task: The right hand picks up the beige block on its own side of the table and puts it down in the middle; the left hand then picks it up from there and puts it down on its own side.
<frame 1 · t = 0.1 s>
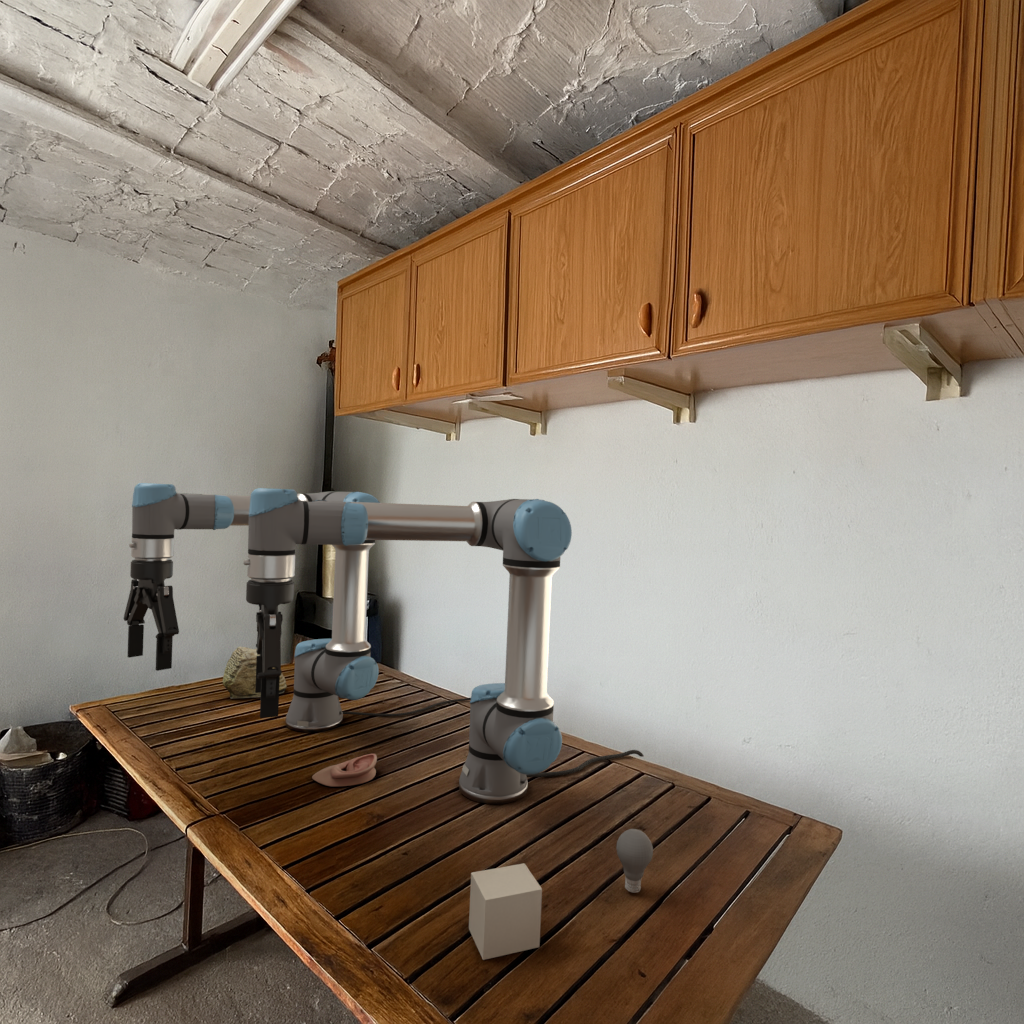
left hand: (148, 662, 129), 28 cm above the table, tool pointing down, fingers open, 13 cm apart
right hand: (266, 703, 108), 28 cm above the table, tool pointing down, fingers open, 13 cm apart
beige block: (503, 937, 93), on the table
light bulb: (632, 891, 106), on the table
fossil: (254, 694, 198), on the table
anatomical model: (344, 777, 144), on the table
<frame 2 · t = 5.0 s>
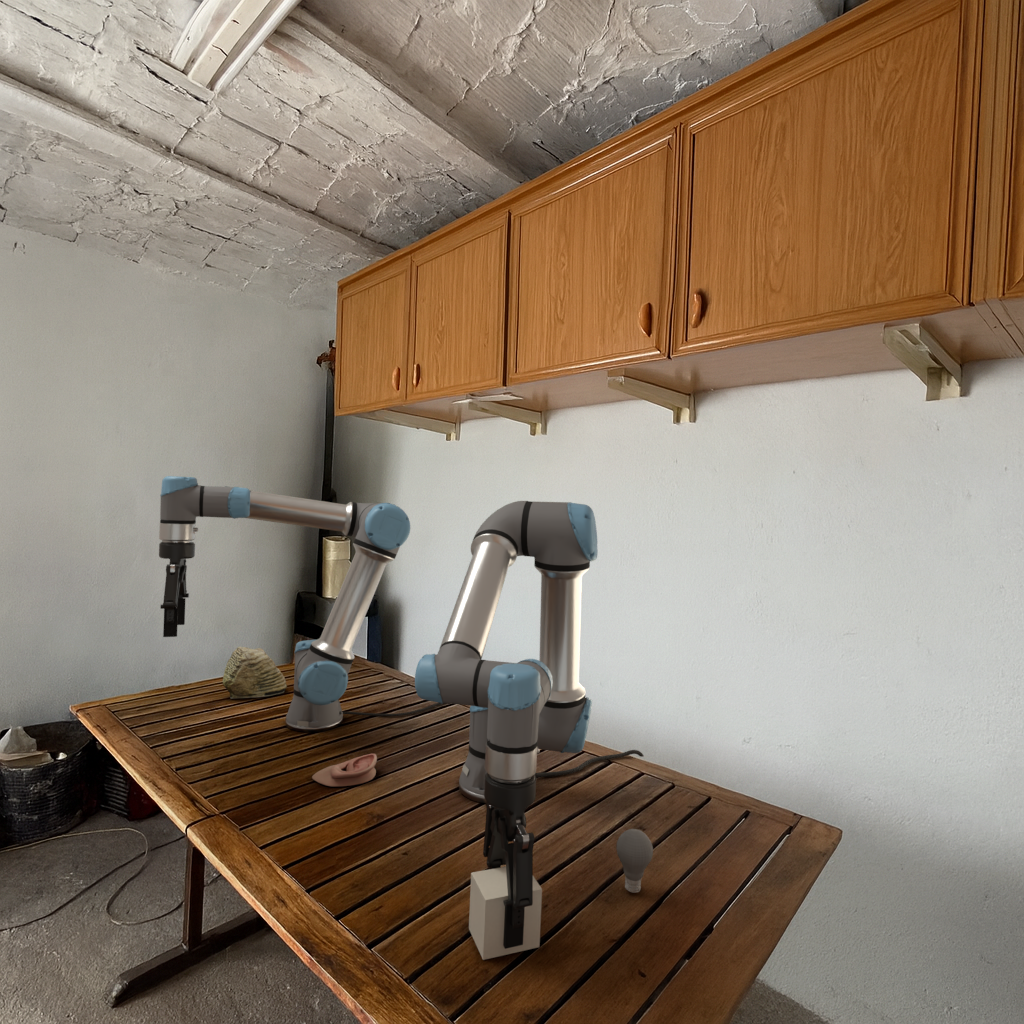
left hand: (174, 630, 151), 30 cm above the table, tool pointing down, fingers open, 13 cm apart
right hand: (503, 927, 93), 2 cm above the table, tool pointing down, fingers closed on beige block, 7 cm apart
beige block: (503, 937, 93), on the table, touching right hand
everything else where it was.
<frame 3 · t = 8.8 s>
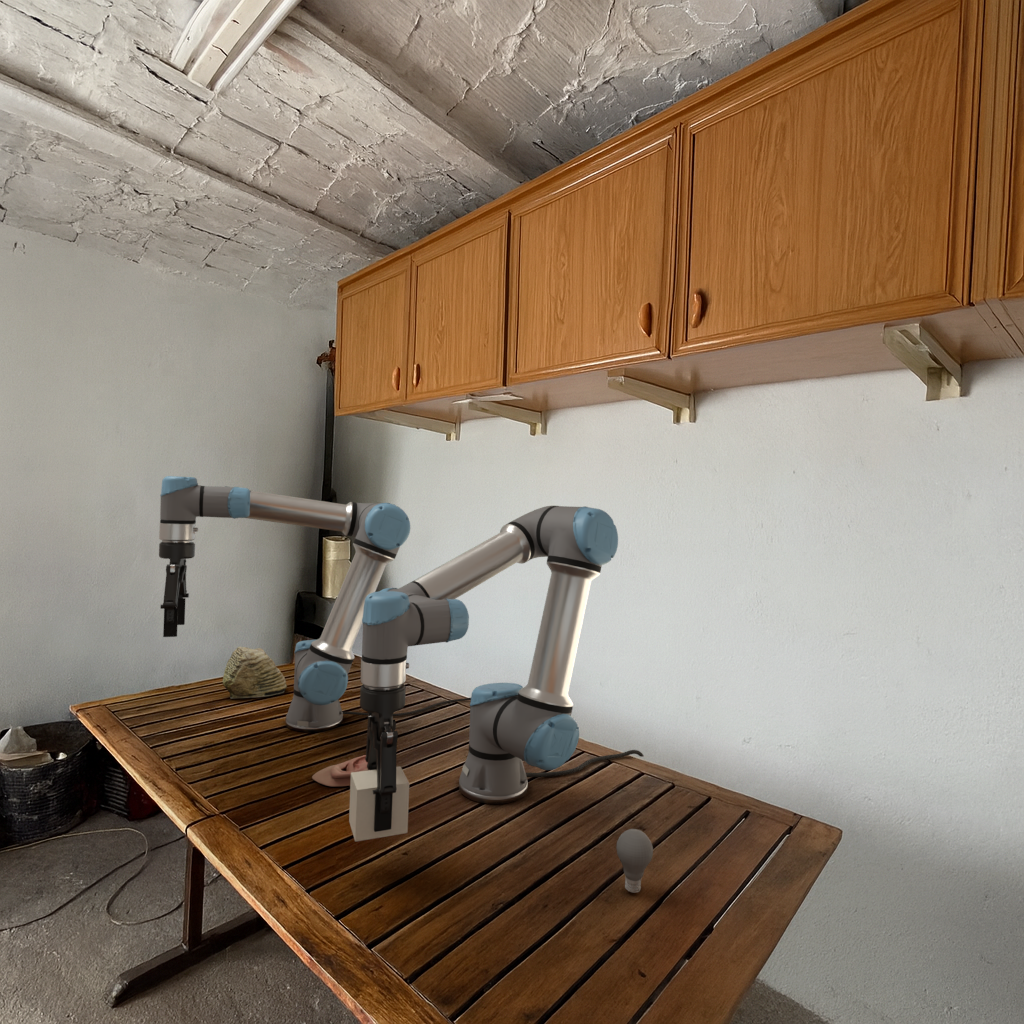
left hand: (174, 630, 151), 30 cm above the table, tool pointing down, fingers open, 13 cm apart
right hand: (378, 818, 108), 9 cm above the table, tool pointing down, fingers closed on beige block, 7 cm apart
beige block: (377, 827, 108), point 8 cm above the table, touching right hand
everything else where it was.
when the right hand's fingers open (3 cm above the table, at t = 12.5 s): beige block drops 2 cm, on the table.
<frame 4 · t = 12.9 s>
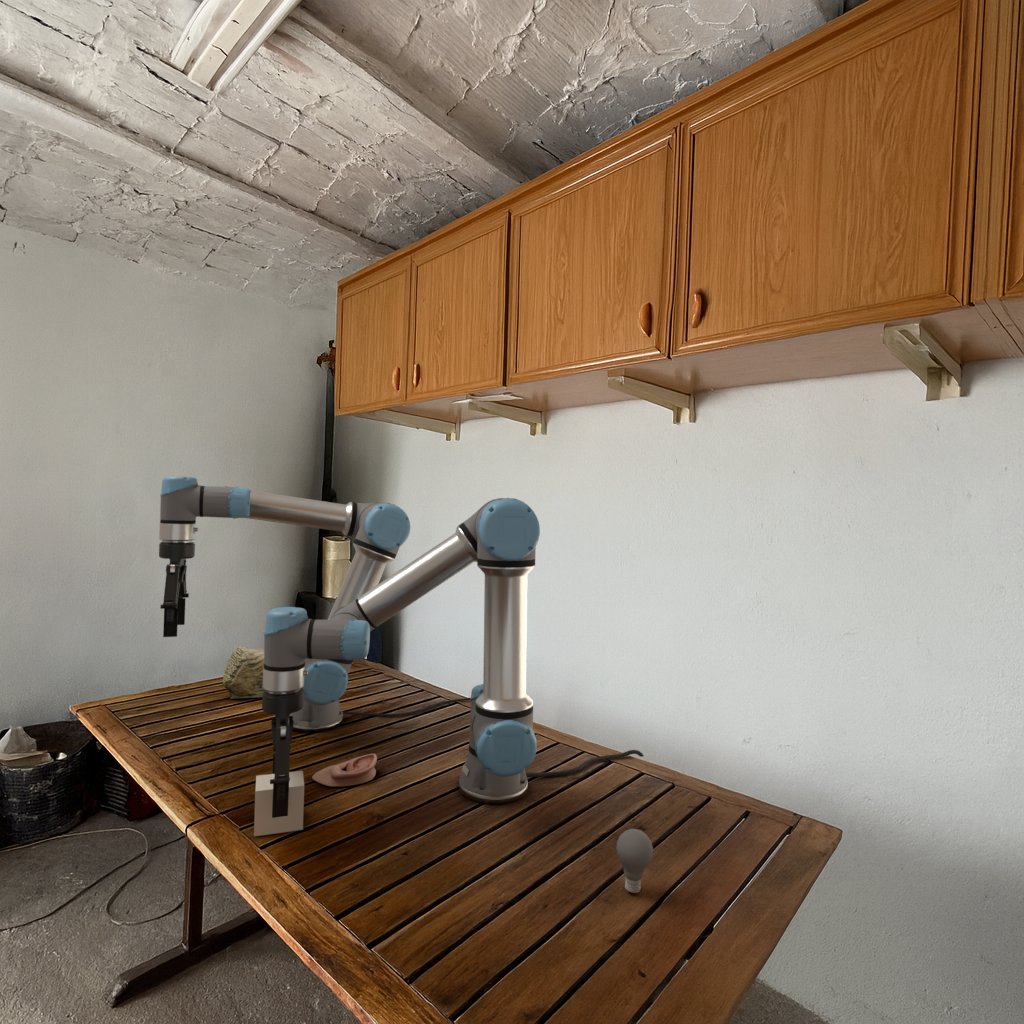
left hand: (174, 630, 151), 30 cm above the table, tool pointing down, fingers open, 13 cm apart
right hand: (279, 799, 122), 5 cm above the table, tool pointing down, fingers open, 12 cm apart
beige block: (278, 824, 122), on the table
everything else where it was.
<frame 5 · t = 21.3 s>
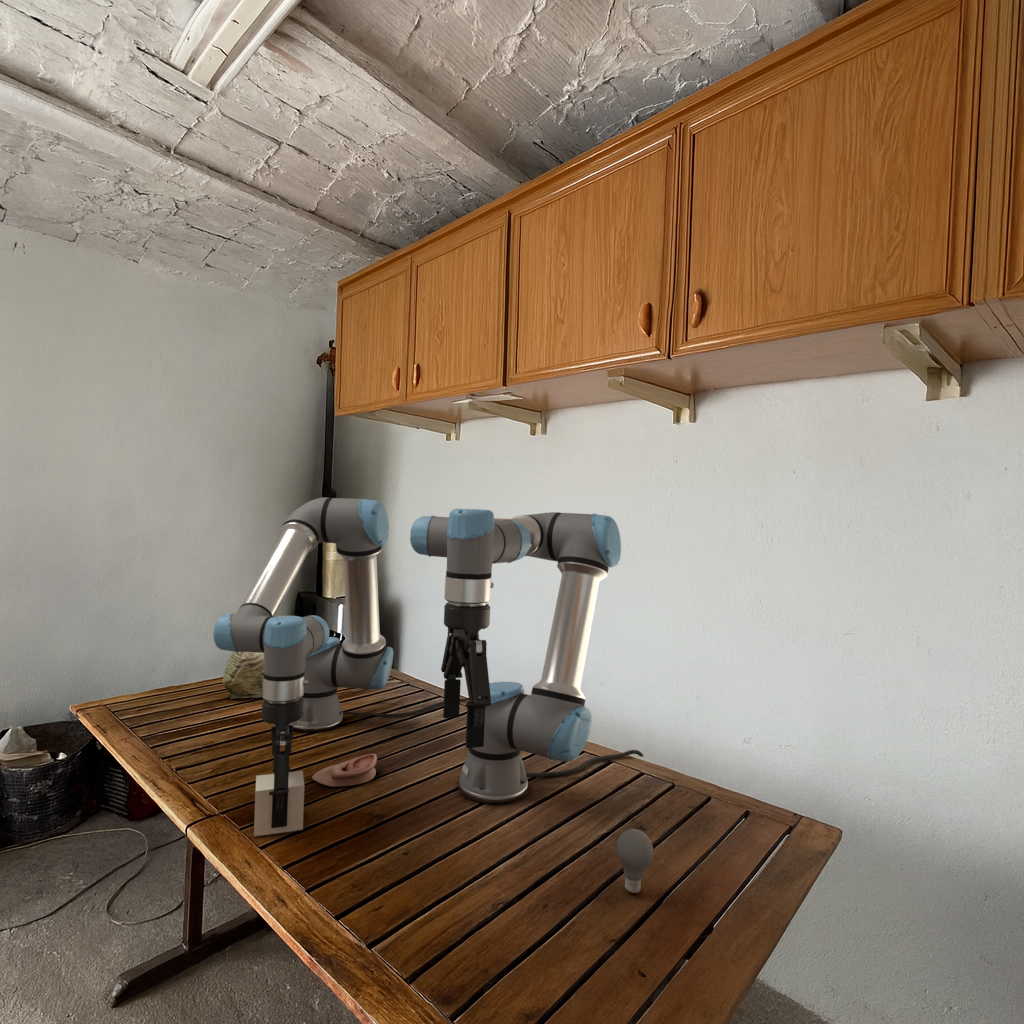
left hand: (278, 816, 122), 2 cm above the table, tool pointing down, fingers closed on beige block, 7 cm apart
right hand: (462, 731, 104), 26 cm above the table, tool pointing down, fingers open, 13 cm apart
beige block: (278, 824, 122), on the table, touching left hand
everything else where it was.
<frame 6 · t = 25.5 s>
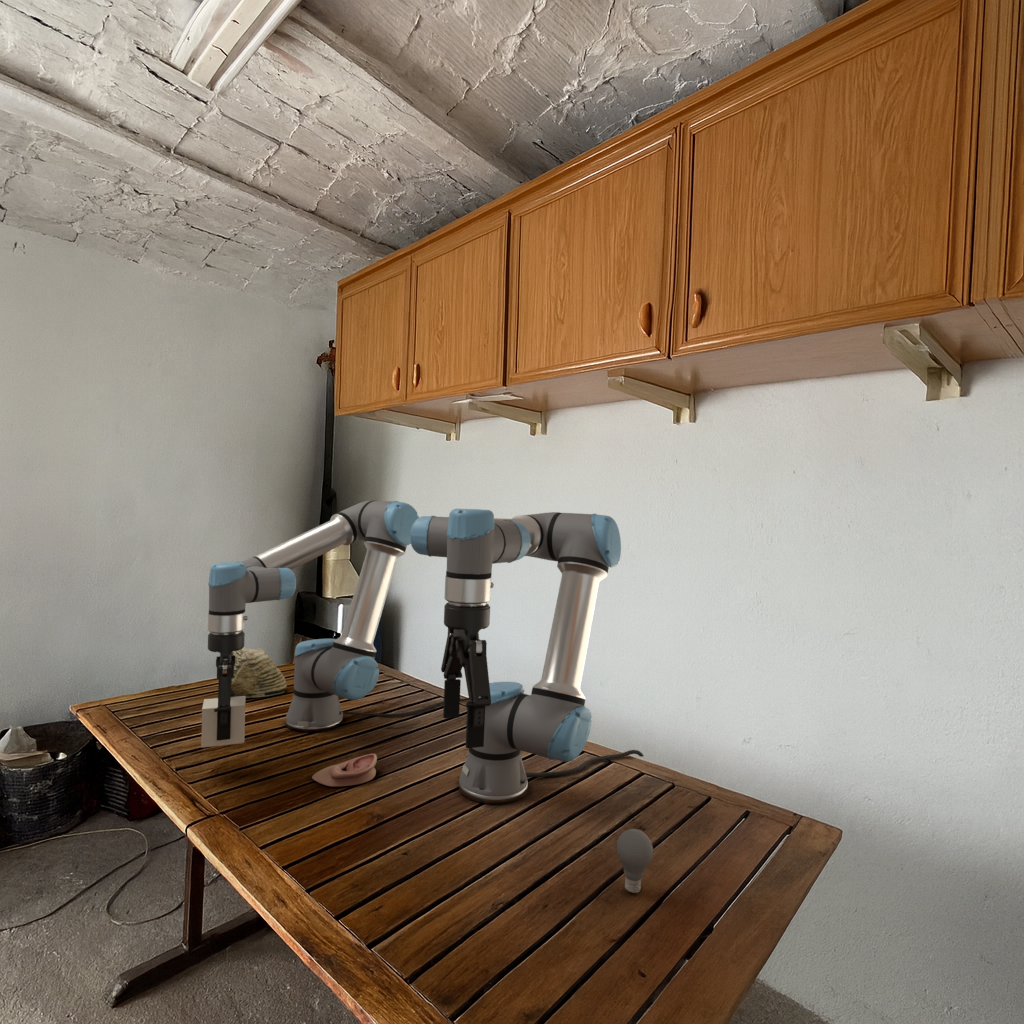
left hand: (224, 732, 143), 9 cm above the table, tool pointing down, fingers closed on beige block, 7 cm apart
right hand: (462, 731, 104), 26 cm above the table, tool pointing down, fingers open, 13 cm apart
beige block: (223, 739, 143), point 8 cm above the table, touching left hand
everything else where it was.
when the left hand's fingers open (3 cm above the table, at t = 29.7 s): beige block drops 2 cm, on the table.
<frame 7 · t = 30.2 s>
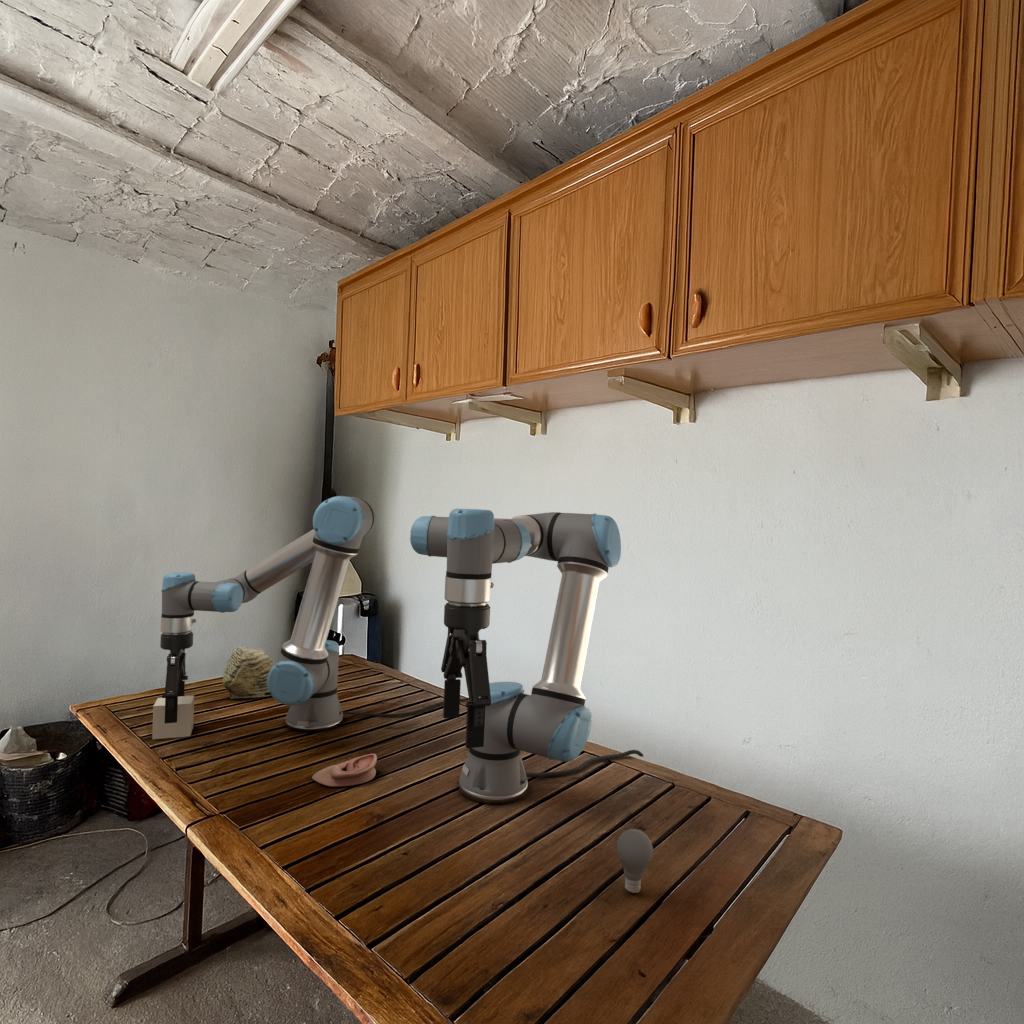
left hand: (174, 713, 165), 5 cm above the table, tool pointing down, fingers open, 13 cm apart
right hand: (462, 731, 104), 26 cm above the table, tool pointing down, fingers open, 13 cm apart
beige block: (173, 733, 165), on the table
everything else where it was.
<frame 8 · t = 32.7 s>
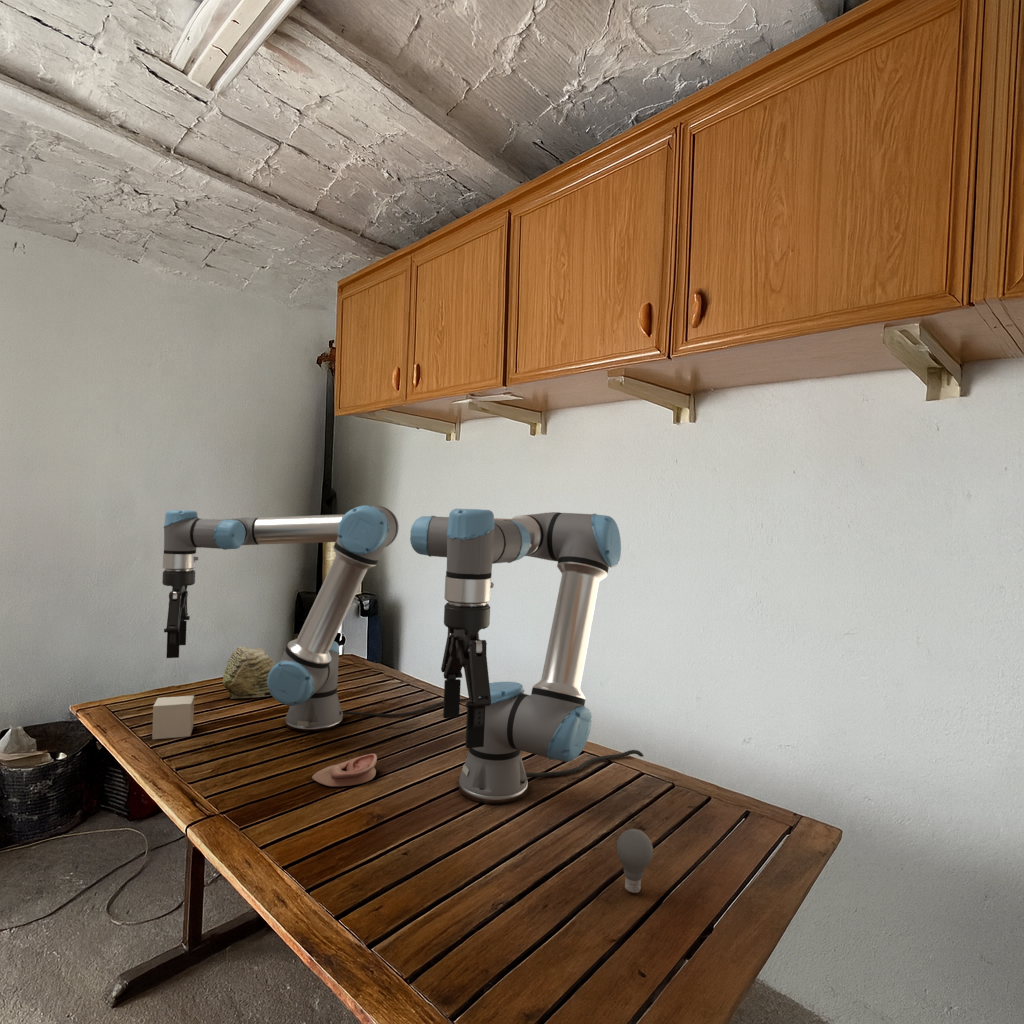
left hand: (176, 651, 164), 21 cm above the table, tool pointing down, fingers open, 13 cm apart
right hand: (462, 731, 104), 26 cm above the table, tool pointing down, fingers open, 13 cm apart
nothing on the table moved.
at the end: beige block inside the target area (0.1 cm from its centre), on the table; beige block tilted 0°; the two hands never held the beige block at the same time; the left hand is holding nothing; the right hand is holding nothing; beige block at rest at the end (0.0 cm/s) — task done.
